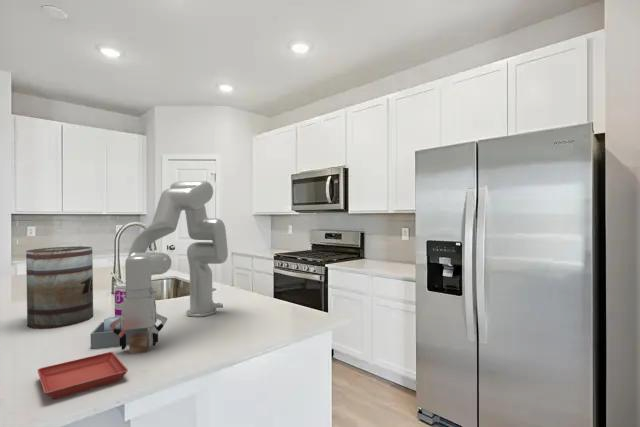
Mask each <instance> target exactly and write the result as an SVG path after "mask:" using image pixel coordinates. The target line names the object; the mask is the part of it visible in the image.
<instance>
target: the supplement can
mask: <svg viewBox="0 0 640 427" xmlns="http://www.w3.org/2000/svg"><path fill="white" fill-rule="evenodd" d="M113 292H114V317H121V313H122V305H123V300H124V298H126V282H122V283H118V284H116V285H115V287H114V291H113Z"/></svg>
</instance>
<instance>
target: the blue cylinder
mask: <svg viewBox="0 0 640 427" xmlns="http://www.w3.org/2000/svg"><path fill="white" fill-rule="evenodd" d="M118 318H120V317H115V316H110V317H107V318H105V319H103V322H104V332H109V331H113V330H112V329H111V328H110V326H109V325H110V324H111V323H112V322H114V321H115V320H117V319H118ZM116 326H117V328H119V329H120V323H118V324H117V325H116Z"/></svg>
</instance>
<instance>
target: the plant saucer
mask: <svg viewBox="0 0 640 427" xmlns="http://www.w3.org/2000/svg"><path fill="white" fill-rule="evenodd" d="M115 354H116V353H114V352H113V351H109V352H104V353H101V354H96V355H91V356H86V357H82V358H79V359H73V360H70V361H65V362H61V363H57V364H53V365H48V366H44V367H40V368H38V369H36V370H37V375H38V377H39V380H40V383H41V387H42V389H43V390H42V391H43V393H44V394H45V395H46V396H47V397H48V398H50V399H52V400H57V399H61V398H64V397H67V396H72V395H74V394H78V393H81V392H85V391H88V390H91V389H95V388H99V387H102V386H105V385H109V384H113V383H116V382H119V381H121V379H122V378H123V377H124V376H125V375H126V374H127V373H128V370H129V369H128V368H127V367H126V366H125V364H124V363H123V362H122V361H121V360H120V359H119V358H118V356H117V355H115Z"/></svg>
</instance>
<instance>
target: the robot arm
mask: <svg viewBox="0 0 640 427" xmlns="http://www.w3.org/2000/svg"><path fill="white" fill-rule="evenodd" d="M213 195H214V189H213V185H212V184H211V183H210V182H208V181H207V180H206V181H205V180H195V181H193V180H191V181H189V180H187V181H186V180H185V181H175V182H173V183H172V184H171V185H170V186H169V188H167V189H165V190H163V191H162V192H161V194H160V198H159V200H158V203H157V206H156V209H155V212H154V216H153V218H152V221H151V223H150V224H149V225H148V226H147V227H146V228H144V229H143V230H142V231H141V232H140V233H139V234H138V235H137V236H136V237H135V238H134V240H133V242H132V244H131V247H130V249H129V252H128V254H127V255H128V256H127V257H126V259H125V265H124V266H125V283H126V298H124V300H123V305H122V313H121V317H120V318H118V319H117V320H115V321H114V322H112V323H111V324H110V325H109V326H110V328H111V329H112V330H113V332H114V333H115V334H117V335H118V337H120V346H119V347H121V350H122V351H123V350H125V349H126V348H127V345H126V335H125V332H126V331H127V330H135V329H145V328H150V329H151V330H152V331H153V332H152V334H151V336H152V347H156V344H157V343H158V342H159V332H160V331H161V330H162V329H163V328H164V326H165V324H166V323H167V322H168V318H167V317H165V316H163V315H161V314H159V313H157V304H156V298H155V295H153V294H156V293H157V288H153V286H152V276H155V275H156V276H157V275H163V274H165V273H167V272H168V271H169V270H170V269H171V266H172V258H171V257H170V255H169V254H167V253H165V252H150V251H148V252H147V250H148V248H149V247H150V246H151V245H152V244H153V243H154V242H156V241H157V240H160V239H161V238H164V237H166V236H168V235H170V234H172V233H174V232H175V231H176V230H177V228H178V223H179V219H180V217H181V212H182V211H184V212H185V213H184V214H185V220H186V227H187V233H188V237H189V238H190V239H192V240H195V241H196V242H193V243H190V244H189V245H188V247H187V250H186V257H187V260H188V266H189V309H188V310H186V312H185V313H186V316H188V317H193V318H194V317H195V318H198V317H199V318H200V317H206V316H212V315H214V314H215V313H216V312H217V309H219V308H220V309H221V308H222V309H223V308H224V303H223V302H221V303H220V302H217V303H215V302H214V300H213V271H212V268H211V267H210V266H209V264H211V265H213V264H214V265H217V264H218V265H221V264H224V263H225V262H226V261H227V260H228V256H229V255H228V254H229V250H228V249H229V248H228V241H227V240H228V238H227V231H226V225H225V223H224V221H223V220H222V219H220V218H217V217H216V218H215V217H214V218H213V217H212V218H211V217H209V218H208V215H207V209H206V204H207V203H208V202H210V200H211V199H212V198H213ZM157 320H159V322H160V324H158V326H157V324H156V323H157ZM120 322H121V328H122V331H121V330H120V329H119V328H117V326H116V325H117V324H118V323H120Z"/></svg>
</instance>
